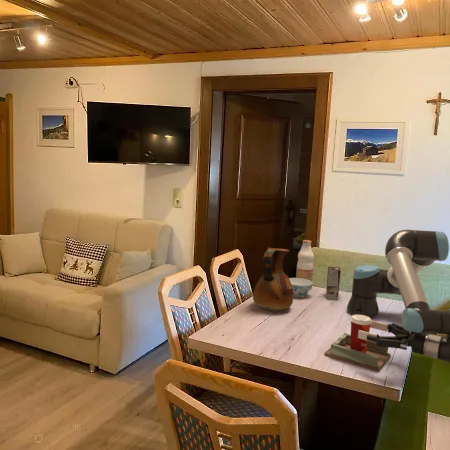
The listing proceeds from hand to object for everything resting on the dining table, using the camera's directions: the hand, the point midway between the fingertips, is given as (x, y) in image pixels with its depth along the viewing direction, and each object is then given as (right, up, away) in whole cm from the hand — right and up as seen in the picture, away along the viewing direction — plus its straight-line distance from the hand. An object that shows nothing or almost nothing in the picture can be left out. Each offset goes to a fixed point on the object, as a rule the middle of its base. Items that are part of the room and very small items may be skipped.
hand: (364, 328), depth 162 cm
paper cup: (-2, -10, +3) cm, 11 cm away
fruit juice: (-6, +2, +91) cm, 91 cm away
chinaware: (-12, 0, +77) cm, 78 cm away
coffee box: (+7, -1, +76) cm, 76 cm away
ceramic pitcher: (-28, -3, +54) cm, 61 cm away
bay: (-2, -11, +3) cm, 11 cm away
